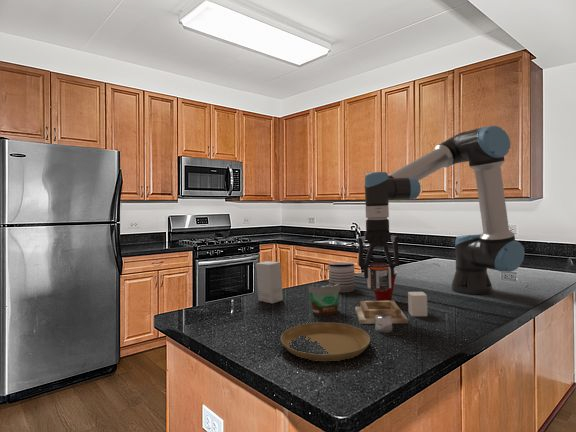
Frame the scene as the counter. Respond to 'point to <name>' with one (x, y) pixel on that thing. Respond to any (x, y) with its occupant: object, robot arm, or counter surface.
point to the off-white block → (417, 303)
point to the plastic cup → (386, 294)
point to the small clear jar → (383, 323)
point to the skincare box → (269, 281)
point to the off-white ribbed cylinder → (342, 276)
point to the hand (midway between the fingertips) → (379, 287)
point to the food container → (325, 299)
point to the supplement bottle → (379, 274)
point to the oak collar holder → (379, 311)
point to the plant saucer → (328, 340)
